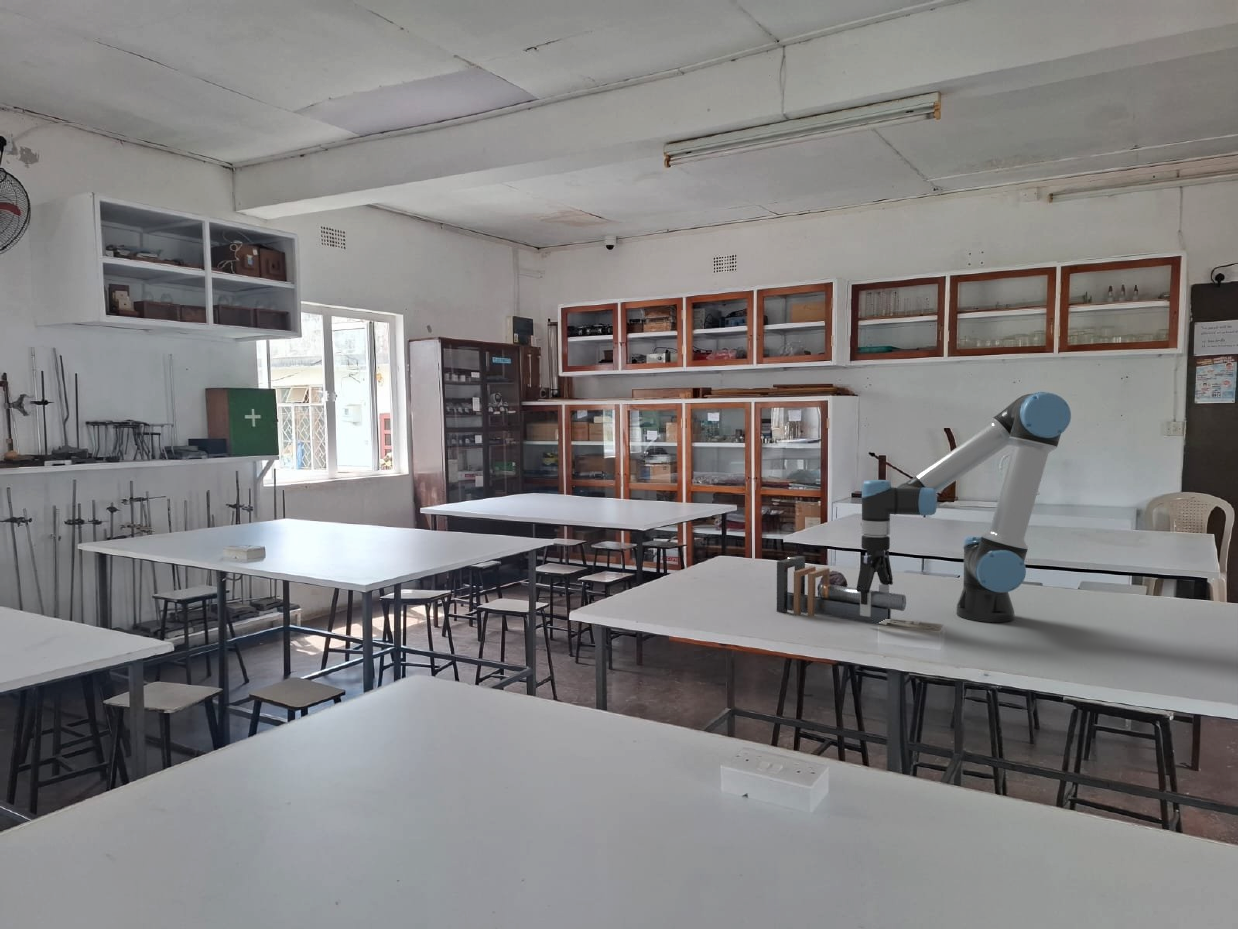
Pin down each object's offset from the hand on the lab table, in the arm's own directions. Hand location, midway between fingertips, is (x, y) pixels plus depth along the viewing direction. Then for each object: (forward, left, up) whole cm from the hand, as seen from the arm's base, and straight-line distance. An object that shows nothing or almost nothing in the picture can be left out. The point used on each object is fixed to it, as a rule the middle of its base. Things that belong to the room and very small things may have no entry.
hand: (874, 611), depth 222 cm
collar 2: (+17, 0, -3) cm, 17 cm away
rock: (+21, -18, -3) cm, 28 cm away
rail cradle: (+12, 0, -3) cm, 12 cm away
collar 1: (+21, 0, -3) cm, 22 cm away
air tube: (+4, 0, +1) cm, 4 cm away
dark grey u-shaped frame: (+26, 0, -3) cm, 26 cm away
